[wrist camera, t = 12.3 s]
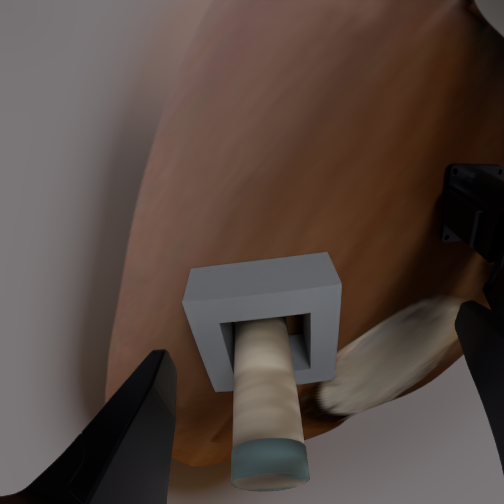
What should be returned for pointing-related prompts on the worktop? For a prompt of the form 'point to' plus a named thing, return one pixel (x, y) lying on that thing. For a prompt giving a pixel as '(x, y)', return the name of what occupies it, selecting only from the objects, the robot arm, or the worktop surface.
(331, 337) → the socket block
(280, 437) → the birch peg
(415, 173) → the worktop surface
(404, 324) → the worktop surface
